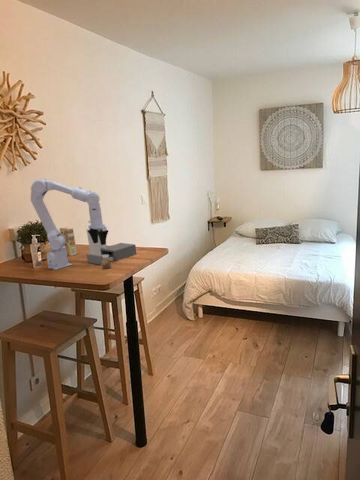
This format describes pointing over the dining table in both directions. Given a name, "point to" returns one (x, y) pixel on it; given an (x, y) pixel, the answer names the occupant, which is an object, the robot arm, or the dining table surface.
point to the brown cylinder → (106, 263)
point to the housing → (120, 250)
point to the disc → (105, 256)
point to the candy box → (69, 240)
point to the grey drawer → (98, 258)
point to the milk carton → (94, 246)
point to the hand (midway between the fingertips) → (99, 243)
